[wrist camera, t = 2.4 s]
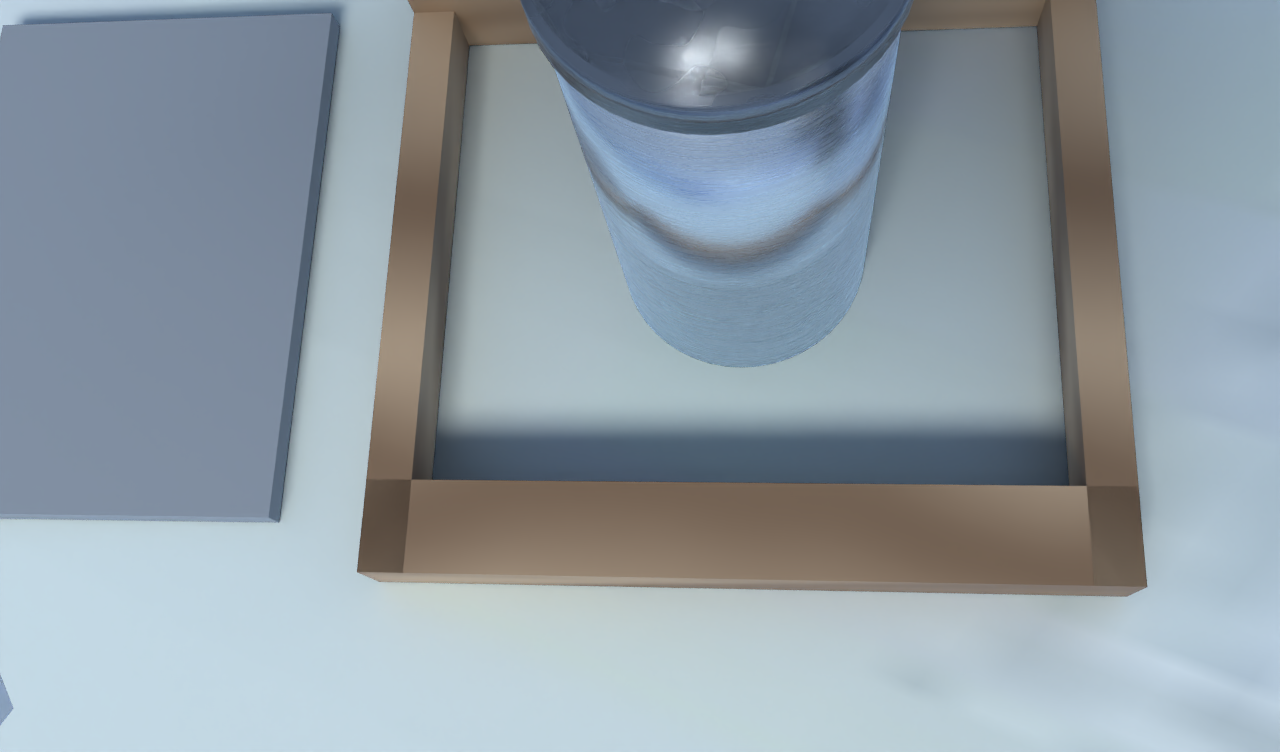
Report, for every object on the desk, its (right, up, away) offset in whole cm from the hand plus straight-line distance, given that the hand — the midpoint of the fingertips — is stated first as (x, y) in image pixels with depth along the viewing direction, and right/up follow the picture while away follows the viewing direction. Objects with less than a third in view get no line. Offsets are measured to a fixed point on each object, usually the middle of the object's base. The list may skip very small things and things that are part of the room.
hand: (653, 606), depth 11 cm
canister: (+2, +5, +18) cm, 19 cm away
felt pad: (-13, +5, +20) cm, 24 cm away
